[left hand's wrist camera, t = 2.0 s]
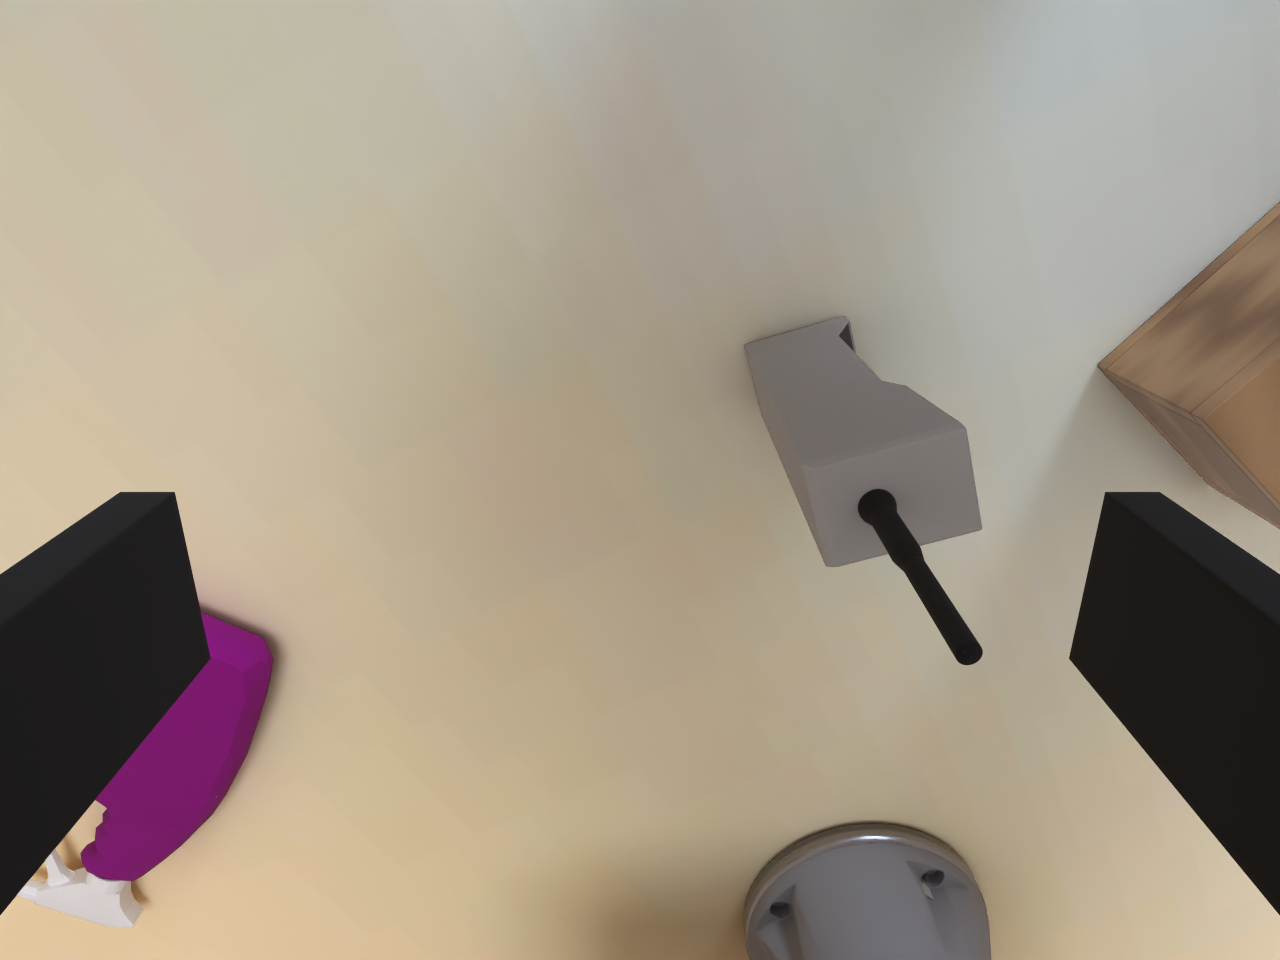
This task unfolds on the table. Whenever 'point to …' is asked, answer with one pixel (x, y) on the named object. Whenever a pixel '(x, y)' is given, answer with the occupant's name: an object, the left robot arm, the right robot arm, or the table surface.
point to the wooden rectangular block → (1217, 370)
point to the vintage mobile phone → (867, 461)
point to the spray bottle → (166, 782)
